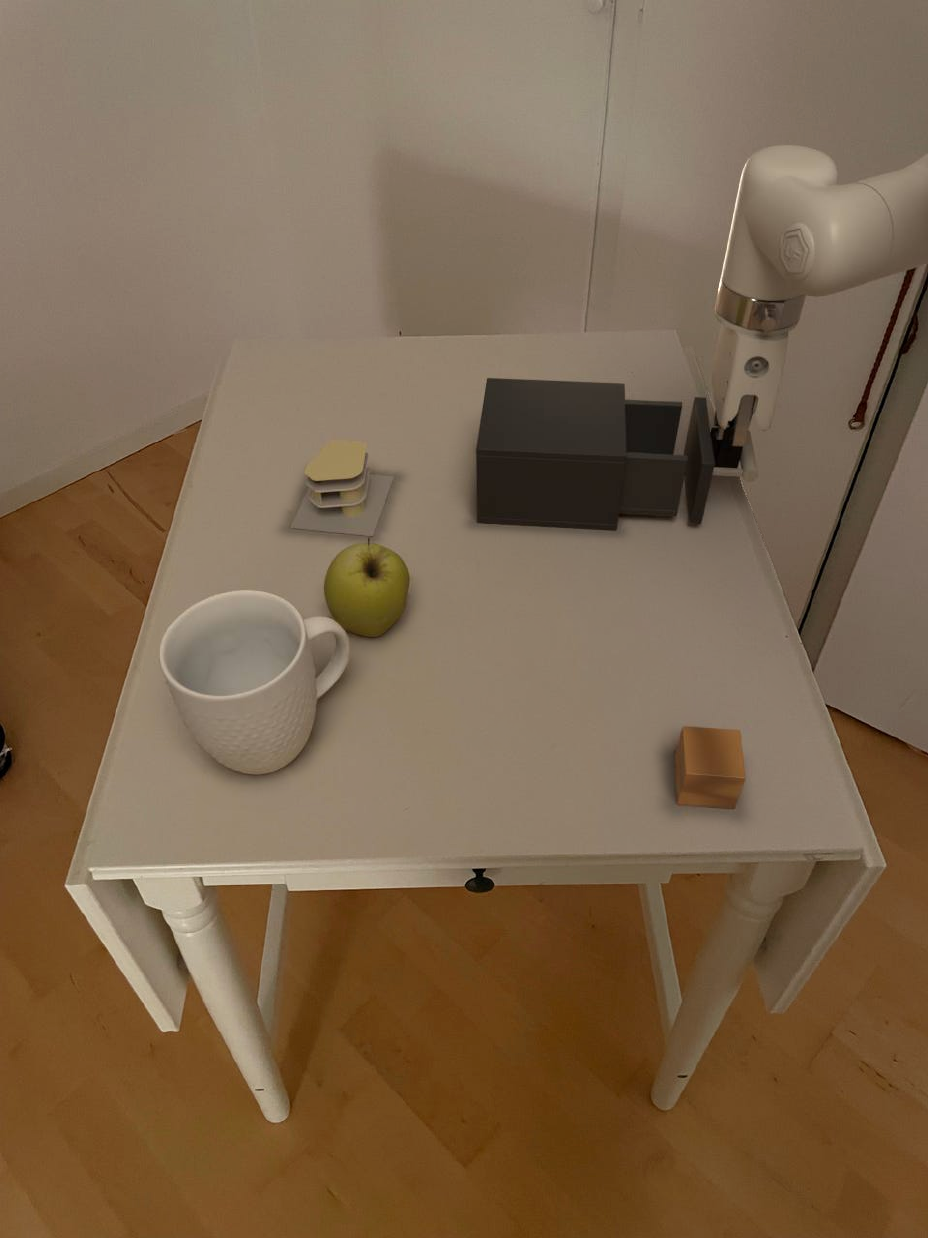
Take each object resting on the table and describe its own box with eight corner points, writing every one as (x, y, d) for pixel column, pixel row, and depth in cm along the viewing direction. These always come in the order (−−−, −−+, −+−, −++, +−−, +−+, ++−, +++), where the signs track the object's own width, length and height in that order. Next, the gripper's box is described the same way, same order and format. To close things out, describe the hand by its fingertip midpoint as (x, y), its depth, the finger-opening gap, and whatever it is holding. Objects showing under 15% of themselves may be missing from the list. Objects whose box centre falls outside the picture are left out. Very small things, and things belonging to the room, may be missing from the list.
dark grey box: (615, 456, 104) (624, 383, 97) (616, 530, 95) (626, 456, 88) (487, 450, 105) (486, 377, 98) (476, 523, 96) (476, 448, 89)
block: (729, 762, 76) (740, 730, 72) (734, 809, 73) (746, 778, 69) (674, 758, 76) (682, 725, 73) (677, 805, 73) (686, 773, 70)
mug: (320, 651, 85) (299, 546, 75) (391, 724, 79) (377, 622, 69) (175, 736, 78) (131, 634, 69) (239, 823, 73) (201, 725, 63)
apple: (309, 594, 88) (327, 513, 82) (388, 596, 91) (412, 518, 85) (322, 654, 83) (342, 574, 76) (405, 654, 86) (432, 576, 79)
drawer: (739, 459, 101) (754, 399, 96) (750, 527, 94) (767, 466, 88) (572, 451, 103) (577, 391, 97) (569, 517, 95) (574, 457, 90)
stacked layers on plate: (316, 469, 103) (309, 428, 99) (394, 476, 102) (390, 436, 98) (290, 528, 96) (281, 487, 92) (373, 536, 95) (367, 495, 91)
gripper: (816, 345, 77) (766, 512, 90) (790, 261, 87) (749, 423, 100) (725, 342, 77) (689, 509, 91) (710, 259, 87) (680, 420, 101)
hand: (721, 463), depth 95 cm, fingers closed
